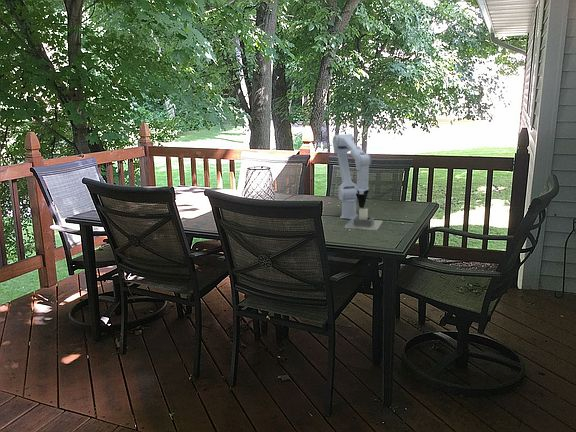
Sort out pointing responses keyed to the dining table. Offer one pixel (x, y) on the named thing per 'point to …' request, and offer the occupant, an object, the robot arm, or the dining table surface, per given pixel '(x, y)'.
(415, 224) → the dining table surface
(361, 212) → the plug
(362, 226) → the socket
